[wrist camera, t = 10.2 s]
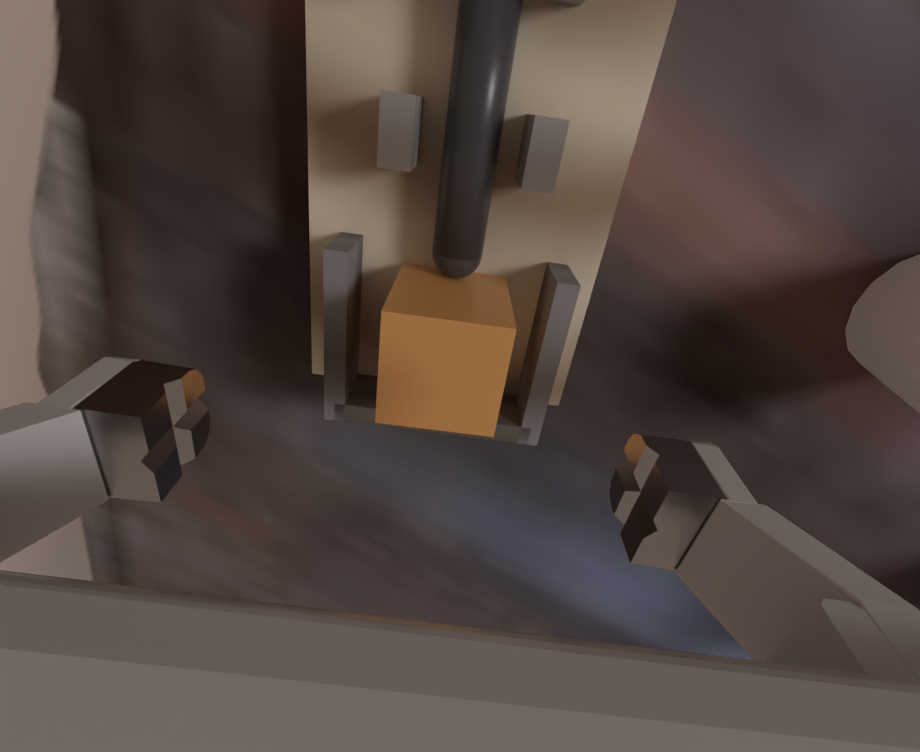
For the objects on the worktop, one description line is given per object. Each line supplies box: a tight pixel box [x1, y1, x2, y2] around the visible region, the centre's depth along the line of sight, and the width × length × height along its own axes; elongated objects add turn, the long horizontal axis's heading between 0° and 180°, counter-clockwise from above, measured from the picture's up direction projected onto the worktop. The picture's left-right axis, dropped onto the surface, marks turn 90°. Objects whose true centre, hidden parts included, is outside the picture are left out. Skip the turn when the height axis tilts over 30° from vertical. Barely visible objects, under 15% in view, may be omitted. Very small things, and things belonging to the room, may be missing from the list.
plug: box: [375, 0, 523, 437], centre depth 14 cm, size 15×4×5 cm, turn 172°
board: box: [305, 0, 677, 446], centre depth 16 cm, size 20×11×4 cm, turn 172°
